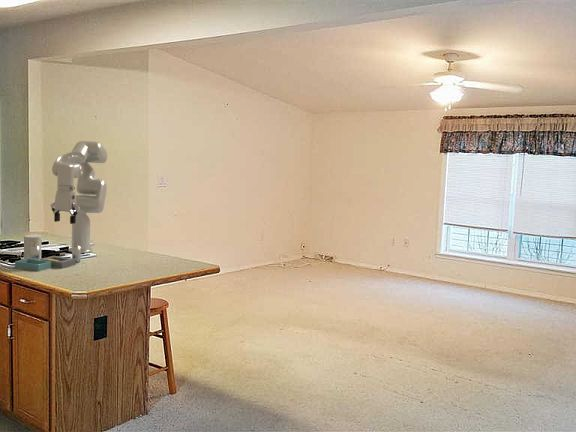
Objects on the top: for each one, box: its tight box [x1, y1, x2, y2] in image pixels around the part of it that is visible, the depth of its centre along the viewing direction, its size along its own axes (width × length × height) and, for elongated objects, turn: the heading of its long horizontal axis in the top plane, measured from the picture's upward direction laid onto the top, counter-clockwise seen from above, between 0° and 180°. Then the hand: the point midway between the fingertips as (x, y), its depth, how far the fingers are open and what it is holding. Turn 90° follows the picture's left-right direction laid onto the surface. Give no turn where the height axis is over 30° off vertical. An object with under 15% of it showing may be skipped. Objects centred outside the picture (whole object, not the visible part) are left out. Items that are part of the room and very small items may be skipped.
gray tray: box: [40, 255, 76, 269], centre depth 275 cm, size 10×13×3 cm
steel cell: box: [71, 245, 82, 264], centre depth 283 cm, size 4×4×9 cm
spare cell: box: [31, 245, 40, 260], centre depth 276 cm, size 4×4×9 cm
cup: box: [23, 234, 42, 260], centre depth 284 cm, size 8×8×12 cm
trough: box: [14, 258, 52, 272], centre depth 266 cm, size 9×14×3 cm, turn 73°
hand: (64, 222), depth 278 cm, fingers open, 9 cm apart
